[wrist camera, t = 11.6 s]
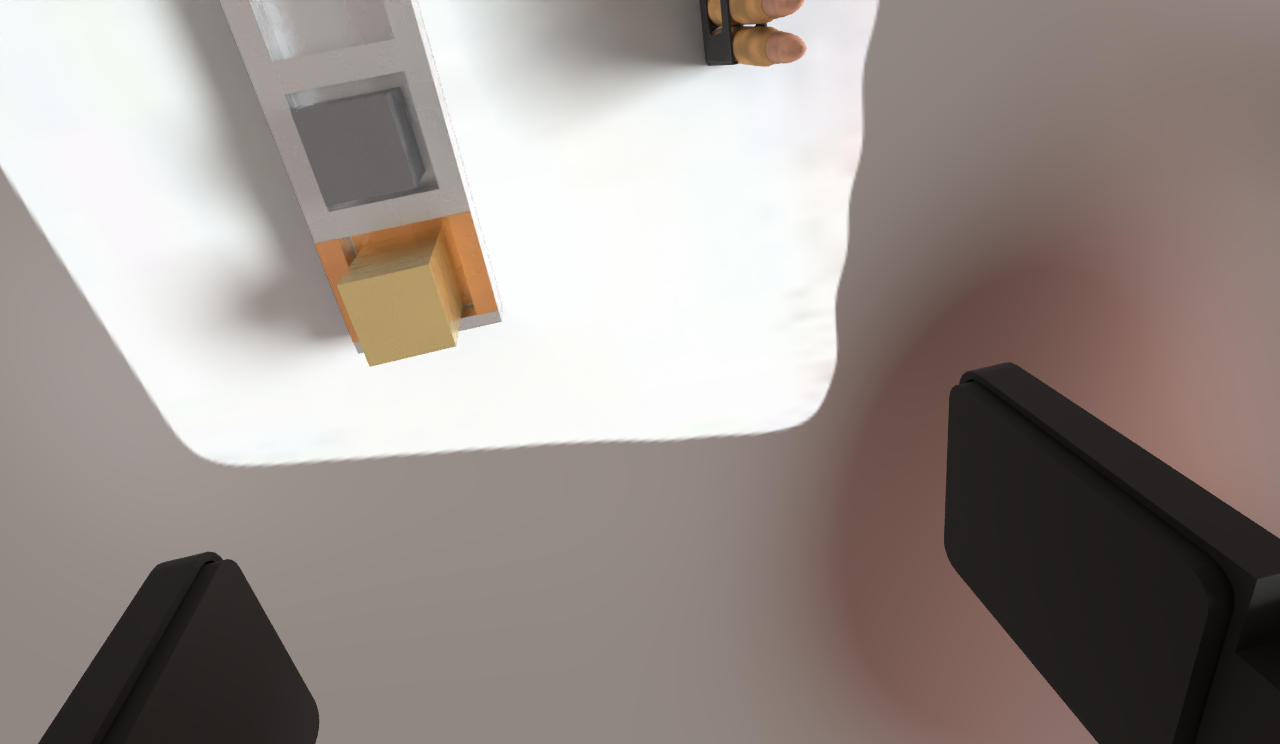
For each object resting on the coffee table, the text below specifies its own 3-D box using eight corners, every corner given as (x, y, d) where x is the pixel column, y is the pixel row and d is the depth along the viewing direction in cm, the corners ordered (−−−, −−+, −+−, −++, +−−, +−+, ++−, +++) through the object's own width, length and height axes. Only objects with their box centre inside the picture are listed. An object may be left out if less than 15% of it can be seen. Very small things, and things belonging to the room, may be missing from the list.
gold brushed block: (364, 244, 38) (336, 285, 32) (441, 226, 39) (428, 264, 32) (391, 314, 40) (369, 366, 34) (463, 297, 41) (455, 346, 34)
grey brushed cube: (315, 103, 35) (290, 112, 31) (399, 86, 35) (386, 93, 31) (345, 187, 37) (326, 206, 33) (425, 170, 37) (415, 187, 33)
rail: (208, -86, 32) (180, -96, 29) (385, -116, 33) (373, -130, 30) (367, 332, 42) (357, 354, 39) (502, 303, 42) (501, 322, 39)
